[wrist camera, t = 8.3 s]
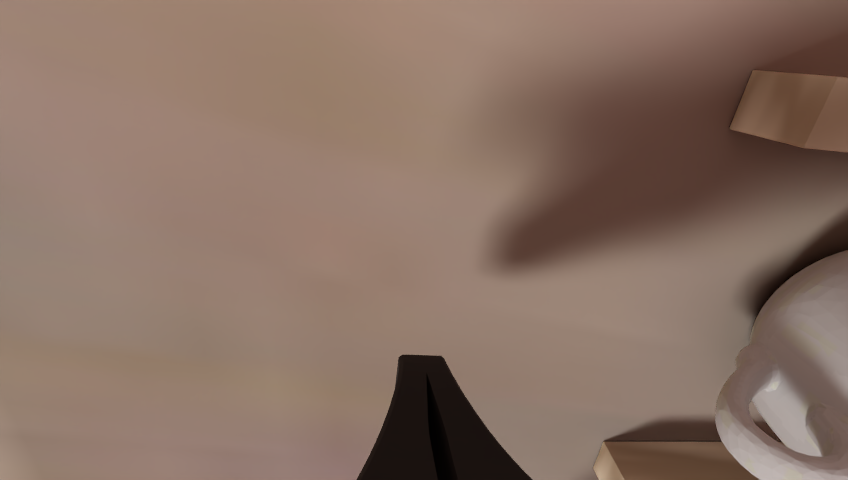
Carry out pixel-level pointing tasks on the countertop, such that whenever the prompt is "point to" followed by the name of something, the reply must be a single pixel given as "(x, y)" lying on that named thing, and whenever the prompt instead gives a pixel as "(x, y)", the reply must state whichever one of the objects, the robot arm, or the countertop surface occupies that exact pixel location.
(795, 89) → the wooden bay
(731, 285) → the countertop surface
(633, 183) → the countertop surface
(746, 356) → the teacup
